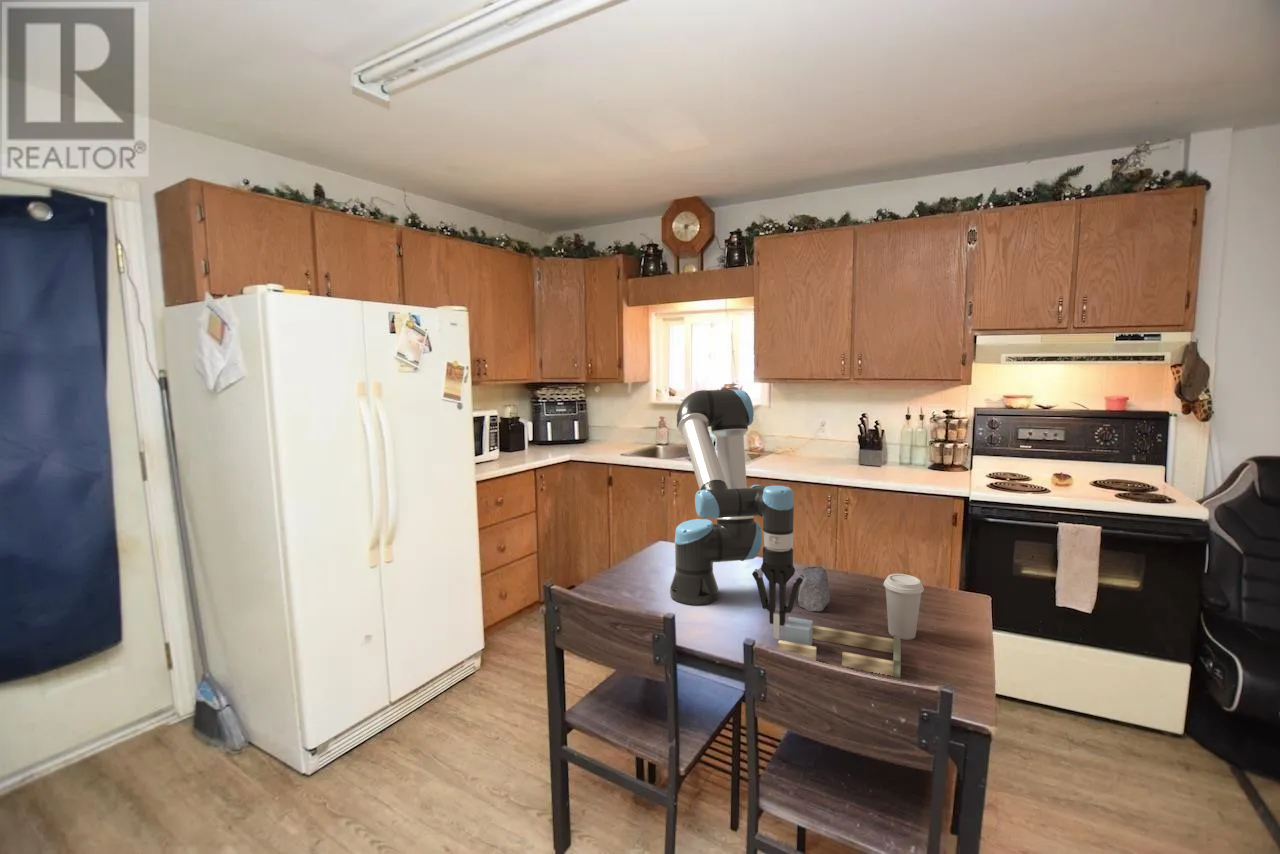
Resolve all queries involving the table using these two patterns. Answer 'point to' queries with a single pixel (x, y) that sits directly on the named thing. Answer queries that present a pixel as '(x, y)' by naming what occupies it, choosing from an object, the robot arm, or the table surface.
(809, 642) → the block
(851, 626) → the table surface
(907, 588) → the coffee cup
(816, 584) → the stone
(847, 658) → the channel
